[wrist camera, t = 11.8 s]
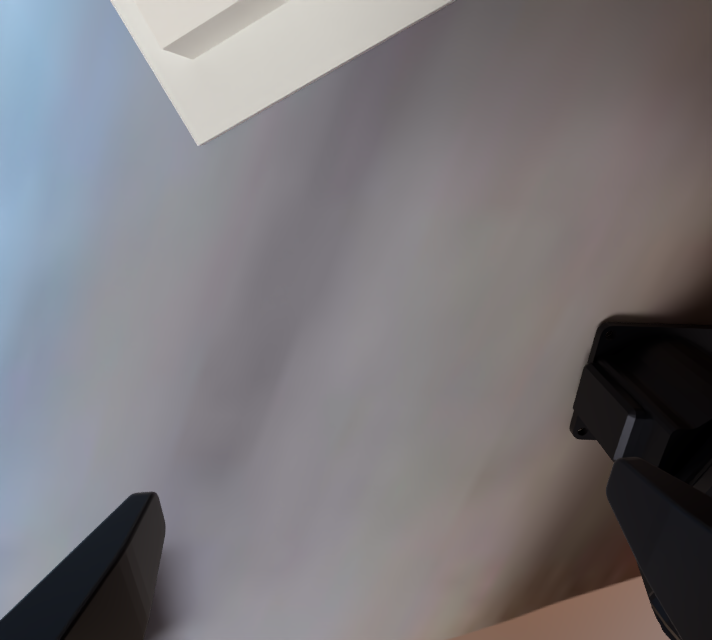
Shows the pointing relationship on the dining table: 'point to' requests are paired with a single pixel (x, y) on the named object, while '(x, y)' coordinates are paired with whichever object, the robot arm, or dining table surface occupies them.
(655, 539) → the robot arm
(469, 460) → the dining table surface
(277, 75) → the dish drying rack
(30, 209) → the dining table surface
